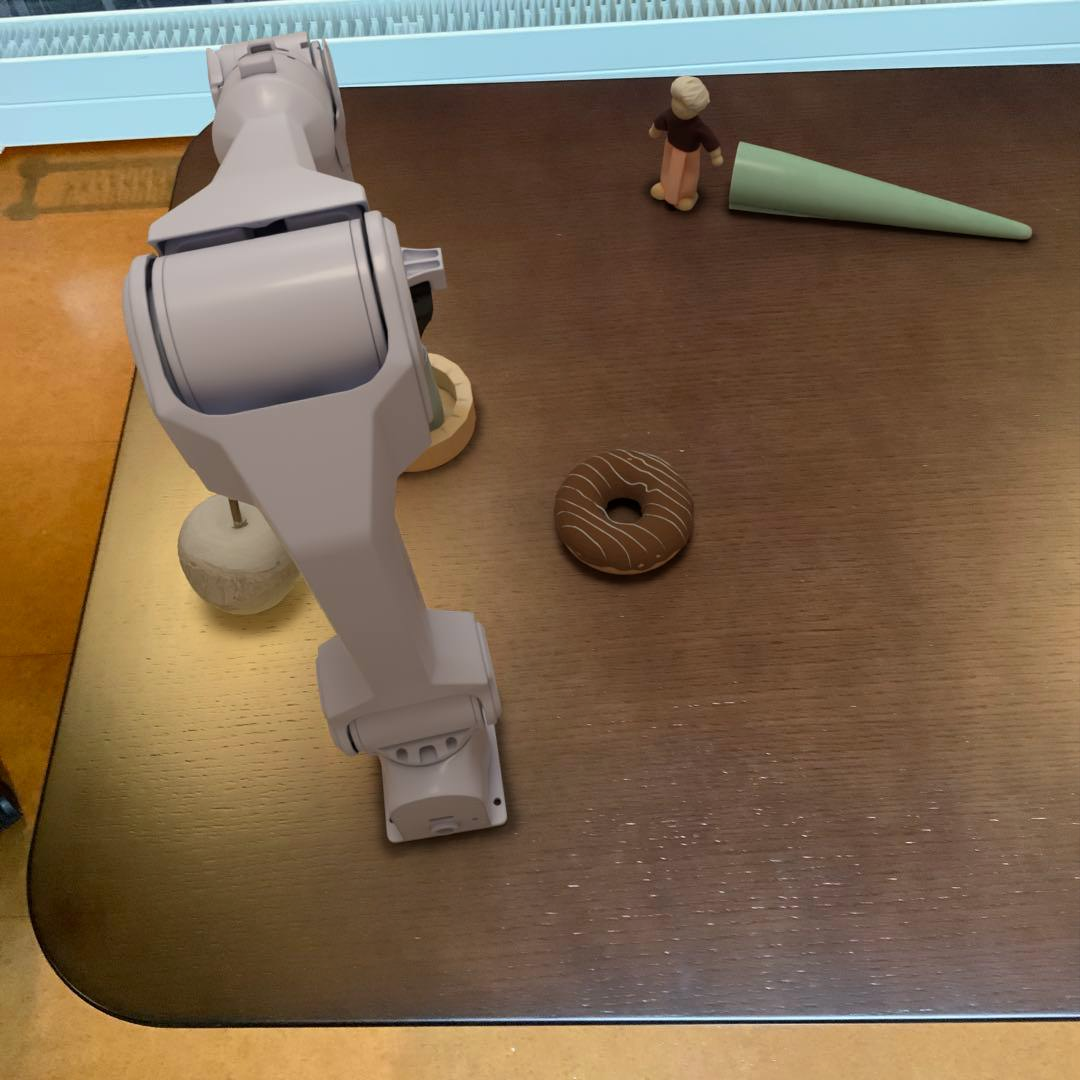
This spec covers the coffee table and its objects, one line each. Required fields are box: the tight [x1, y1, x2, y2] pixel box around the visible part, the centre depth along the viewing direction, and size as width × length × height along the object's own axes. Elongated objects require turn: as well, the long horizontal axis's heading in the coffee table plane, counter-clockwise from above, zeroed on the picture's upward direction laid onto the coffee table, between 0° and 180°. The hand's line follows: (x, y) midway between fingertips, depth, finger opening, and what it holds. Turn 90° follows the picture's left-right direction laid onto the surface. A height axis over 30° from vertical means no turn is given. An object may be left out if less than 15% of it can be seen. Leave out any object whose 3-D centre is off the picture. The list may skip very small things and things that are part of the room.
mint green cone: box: [728, 141, 1033, 240], centre depth 94 cm, size 5×6×27 cm
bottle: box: [421, 342, 444, 432], centre depth 82 cm, size 5×5×10 cm
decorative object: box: [176, 493, 301, 616], centre depth 76 cm, size 9×9×10 cm
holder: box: [403, 352, 477, 473], centre depth 86 cm, size 10×10×3 cm
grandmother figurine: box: [648, 75, 724, 212], centre depth 93 cm, size 8×4×13 cm, turn 62°
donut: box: [553, 448, 695, 575], centre depth 79 cm, size 11×11×4 cm
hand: (360, 364), depth 77 cm, fingers open, 7 cm apart
